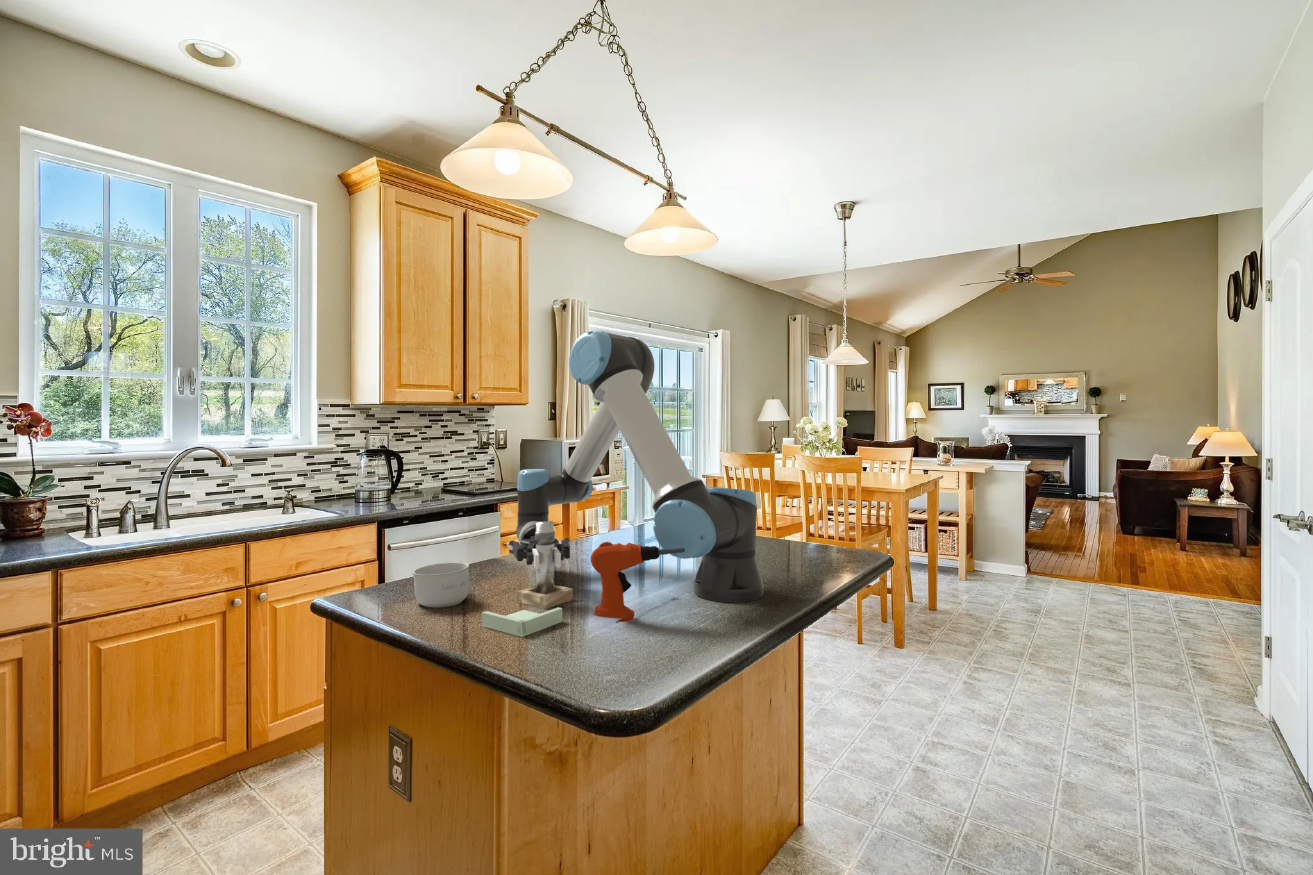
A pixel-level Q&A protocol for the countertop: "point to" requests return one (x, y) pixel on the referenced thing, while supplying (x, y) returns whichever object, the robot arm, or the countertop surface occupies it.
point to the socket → (544, 597)
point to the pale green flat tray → (521, 621)
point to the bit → (545, 556)
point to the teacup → (441, 584)
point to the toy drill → (620, 574)
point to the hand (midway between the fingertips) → (548, 561)
